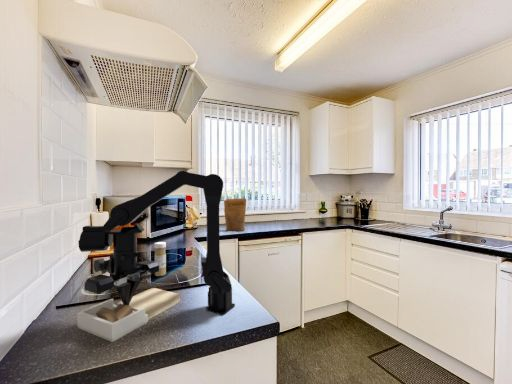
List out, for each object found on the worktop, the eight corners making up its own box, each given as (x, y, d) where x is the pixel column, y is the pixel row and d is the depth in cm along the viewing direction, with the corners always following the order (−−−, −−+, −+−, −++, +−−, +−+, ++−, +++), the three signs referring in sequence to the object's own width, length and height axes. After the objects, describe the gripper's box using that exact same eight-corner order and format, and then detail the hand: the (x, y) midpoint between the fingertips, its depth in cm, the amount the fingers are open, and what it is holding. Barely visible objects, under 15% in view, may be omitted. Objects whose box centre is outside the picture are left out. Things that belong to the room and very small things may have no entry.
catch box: (148, 322, 68) (147, 307, 68) (112, 342, 59) (112, 325, 59) (114, 311, 74) (114, 297, 74) (77, 327, 65) (77, 312, 65)
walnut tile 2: (132, 311, 69) (130, 305, 68) (120, 323, 65) (117, 317, 65) (122, 309, 70) (119, 303, 70) (110, 320, 67) (107, 315, 66)
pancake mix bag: (247, 231, 213) (246, 198, 213) (224, 232, 211) (223, 198, 210) (246, 230, 219) (246, 198, 219) (224, 230, 217) (224, 198, 217)
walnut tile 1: (113, 309, 64) (106, 316, 62) (118, 321, 65) (112, 328, 64) (102, 307, 65) (95, 313, 64) (108, 318, 67) (101, 324, 65)
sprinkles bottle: (163, 272, 109) (162, 241, 109) (168, 274, 106) (167, 242, 106) (152, 274, 105) (152, 242, 105) (157, 277, 102) (157, 244, 102)
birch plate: (180, 301, 80) (179, 294, 80) (145, 321, 68) (145, 312, 68) (153, 295, 85) (153, 287, 85) (116, 311, 73) (116, 303, 73)
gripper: (135, 240, 81) (136, 288, 81) (71, 254, 65) (72, 314, 65) (160, 243, 76) (160, 294, 76) (97, 259, 60) (99, 324, 60)
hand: (126, 305), depth 69 cm, fingers closed
